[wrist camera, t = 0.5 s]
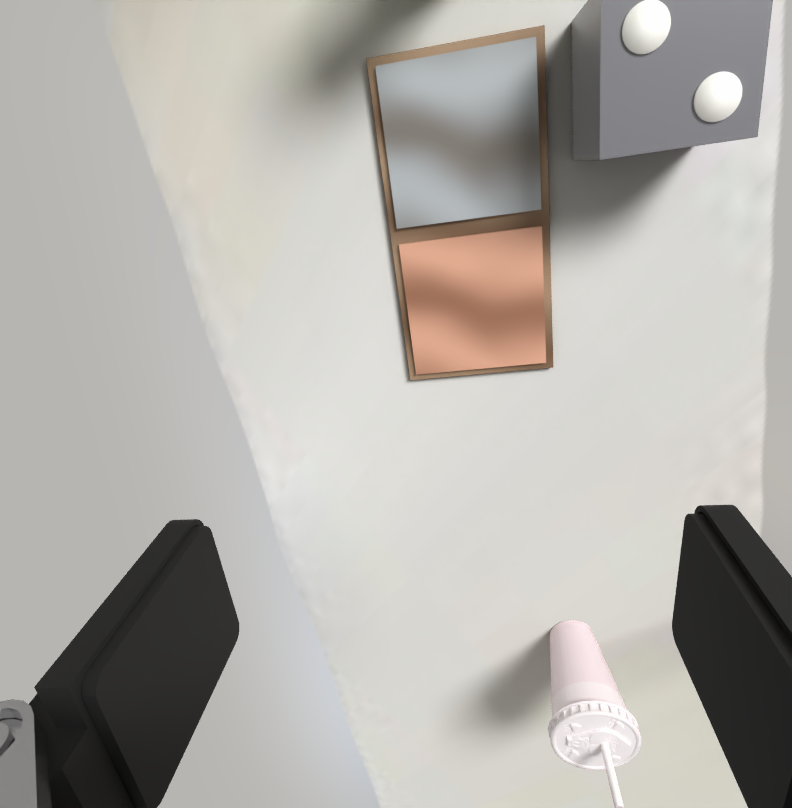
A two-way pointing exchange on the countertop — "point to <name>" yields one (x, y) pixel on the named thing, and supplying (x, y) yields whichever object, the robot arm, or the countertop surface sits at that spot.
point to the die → (666, 74)
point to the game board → (468, 201)
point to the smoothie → (588, 706)
